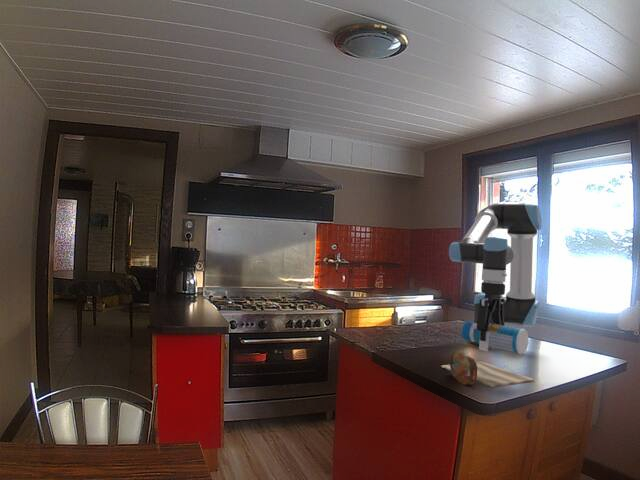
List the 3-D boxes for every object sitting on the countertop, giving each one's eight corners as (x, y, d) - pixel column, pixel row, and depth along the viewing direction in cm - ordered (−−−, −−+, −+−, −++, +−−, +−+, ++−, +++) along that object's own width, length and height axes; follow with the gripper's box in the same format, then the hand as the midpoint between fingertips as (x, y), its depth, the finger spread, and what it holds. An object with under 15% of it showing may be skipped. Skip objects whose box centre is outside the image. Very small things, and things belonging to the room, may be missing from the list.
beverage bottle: (516, 353, 133) (458, 340, 147) (527, 356, 138) (469, 344, 153) (520, 326, 134) (462, 316, 149) (530, 331, 140) (473, 321, 155)
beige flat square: (480, 362, 160) (481, 361, 160) (534, 381, 140) (534, 379, 140) (441, 367, 150) (441, 365, 150) (492, 387, 131) (492, 385, 131)
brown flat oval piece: (448, 373, 143) (450, 348, 144) (457, 373, 144) (459, 348, 144) (468, 388, 128) (469, 360, 129) (478, 389, 129) (479, 361, 129)
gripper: (489, 283, 135) (485, 355, 134) (517, 283, 149) (513, 347, 149) (467, 281, 140) (463, 350, 140) (496, 280, 155) (493, 343, 154)
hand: (489, 348), depth 144 cm, fingers closed on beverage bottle, 8 cm apart
